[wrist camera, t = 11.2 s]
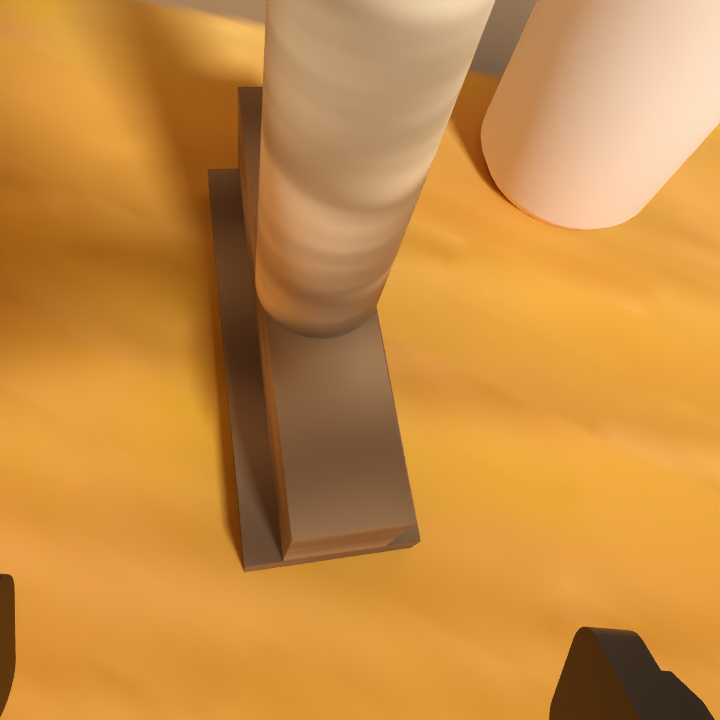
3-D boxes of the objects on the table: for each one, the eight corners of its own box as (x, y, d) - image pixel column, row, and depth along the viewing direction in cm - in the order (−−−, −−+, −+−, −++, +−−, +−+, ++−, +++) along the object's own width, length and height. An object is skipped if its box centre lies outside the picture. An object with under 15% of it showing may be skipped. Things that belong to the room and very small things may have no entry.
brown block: (209, 191, 30) (202, 86, 24) (344, 187, 31) (367, 86, 25) (244, 572, 24) (245, 546, 18) (410, 547, 25) (457, 516, 19)
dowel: (369, 226, 23) (530, -310, 10) (390, 333, 21) (608, -138, 9) (249, 231, 22) (262, -346, 9) (262, 343, 21) (297, -162, 8)
